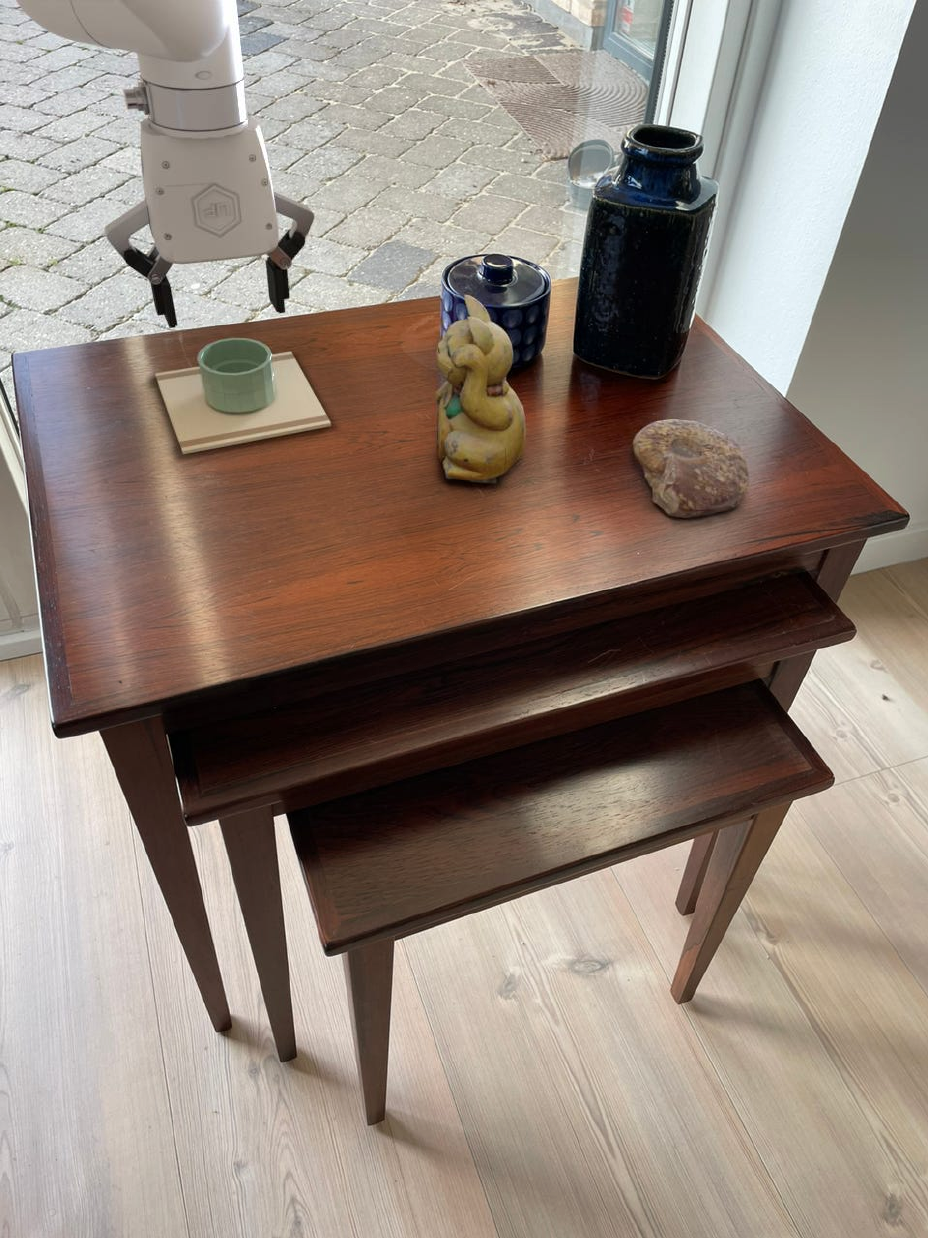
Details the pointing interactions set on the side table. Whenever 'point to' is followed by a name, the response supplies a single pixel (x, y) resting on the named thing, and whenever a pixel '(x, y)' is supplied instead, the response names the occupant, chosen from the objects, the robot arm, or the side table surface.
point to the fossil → (691, 467)
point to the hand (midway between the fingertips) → (225, 313)
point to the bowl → (237, 374)
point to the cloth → (218, 428)
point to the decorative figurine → (477, 400)
